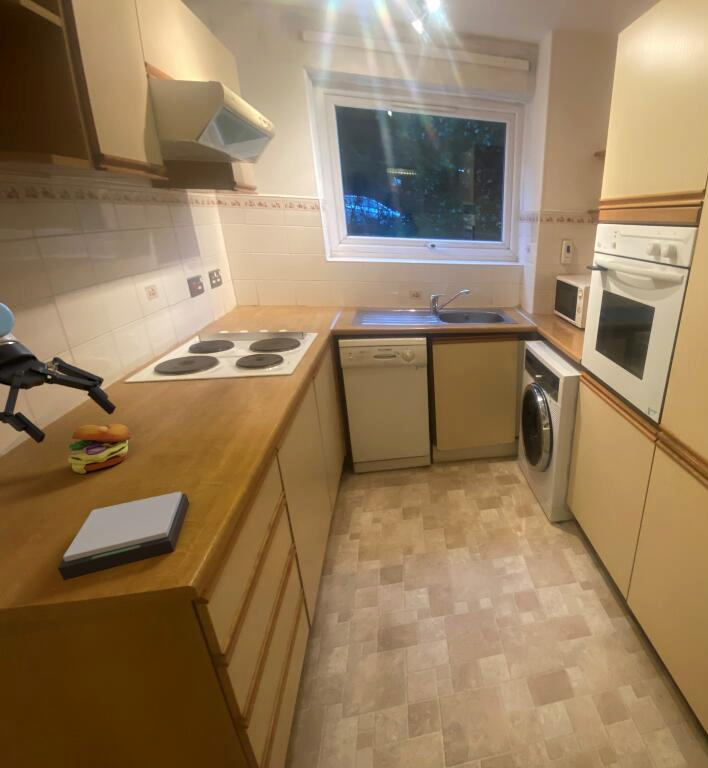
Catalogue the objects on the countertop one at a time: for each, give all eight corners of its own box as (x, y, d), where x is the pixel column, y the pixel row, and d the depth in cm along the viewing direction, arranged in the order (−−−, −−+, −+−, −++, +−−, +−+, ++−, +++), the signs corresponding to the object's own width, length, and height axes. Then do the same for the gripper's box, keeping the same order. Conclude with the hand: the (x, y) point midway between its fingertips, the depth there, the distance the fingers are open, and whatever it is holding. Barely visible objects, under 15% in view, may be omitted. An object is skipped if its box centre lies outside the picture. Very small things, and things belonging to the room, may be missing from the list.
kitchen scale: (63, 579, 67) (55, 563, 66) (96, 524, 78) (89, 508, 77) (173, 551, 72) (168, 535, 71) (189, 503, 84) (184, 488, 83)
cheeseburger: (54, 473, 93) (48, 428, 91) (107, 458, 103) (102, 417, 102) (95, 477, 91) (90, 431, 90) (144, 461, 102) (140, 419, 100)
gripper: (64, 347, 105) (132, 409, 108) (-88, 384, 83) (2, 462, 85) (72, 327, 102) (142, 392, 105) (-84, 361, 80) (10, 442, 82)
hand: (79, 424), depth 95 cm, fingers open, 13 cm apart
